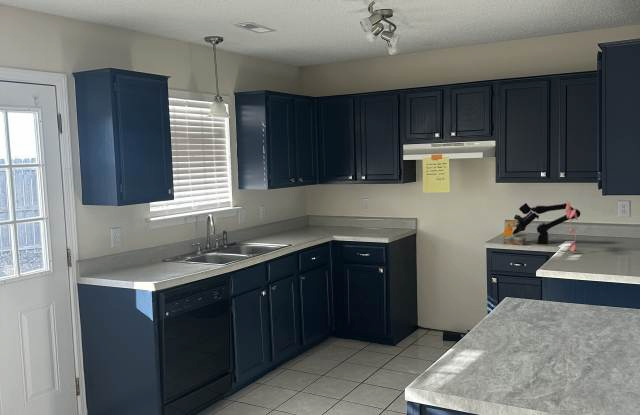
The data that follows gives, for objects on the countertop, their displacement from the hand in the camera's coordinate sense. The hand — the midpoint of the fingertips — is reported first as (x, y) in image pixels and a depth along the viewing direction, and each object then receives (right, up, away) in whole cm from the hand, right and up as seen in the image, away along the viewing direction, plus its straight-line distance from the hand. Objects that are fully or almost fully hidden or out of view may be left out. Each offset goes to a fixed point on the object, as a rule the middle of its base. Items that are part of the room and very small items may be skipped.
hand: (512, 233), depth 452 cm
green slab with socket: (+1, -7, -3) cm, 8 cm away
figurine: (+23, -11, -41) cm, 48 cm away
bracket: (+8, -4, +30) cm, 31 cm away
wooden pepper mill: (+1, -7, 0) cm, 7 cm away
